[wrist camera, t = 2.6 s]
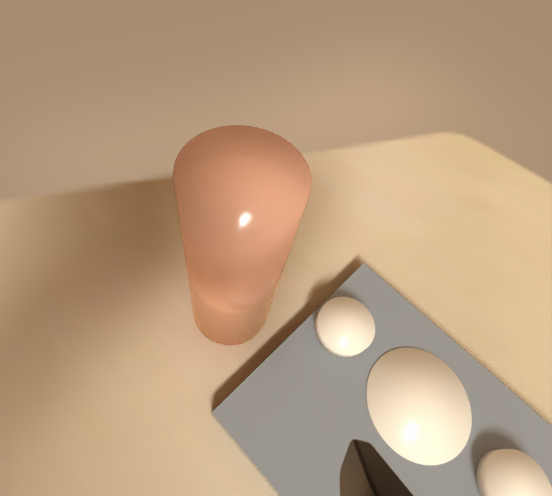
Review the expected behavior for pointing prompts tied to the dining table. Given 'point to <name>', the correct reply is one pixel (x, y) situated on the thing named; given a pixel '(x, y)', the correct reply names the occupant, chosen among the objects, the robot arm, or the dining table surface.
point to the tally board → (385, 405)
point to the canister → (238, 224)
